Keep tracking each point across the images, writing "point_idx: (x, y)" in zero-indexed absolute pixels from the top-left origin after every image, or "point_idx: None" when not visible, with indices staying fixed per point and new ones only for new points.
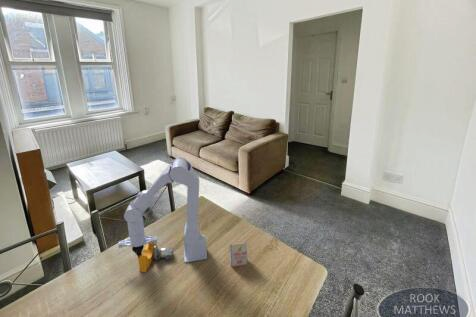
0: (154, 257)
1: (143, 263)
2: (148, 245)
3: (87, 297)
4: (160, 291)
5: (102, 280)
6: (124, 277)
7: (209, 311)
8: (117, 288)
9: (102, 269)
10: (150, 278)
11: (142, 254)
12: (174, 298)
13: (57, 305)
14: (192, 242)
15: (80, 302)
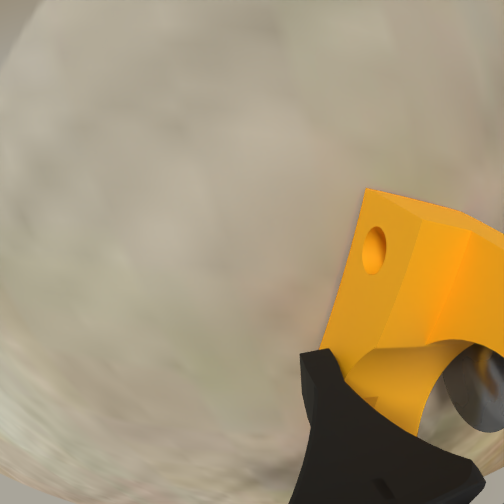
0: (458, 407)
1: None
2: (468, 340)
3: (95, 490)
4: None
5: (89, 450)
6: (217, 459)
7: (500, 467)
8: (208, 492)
9: (22, 383)
10: None
11: (351, 380)
12: None
13: (23, 477)
14: None
15: (87, 495)
